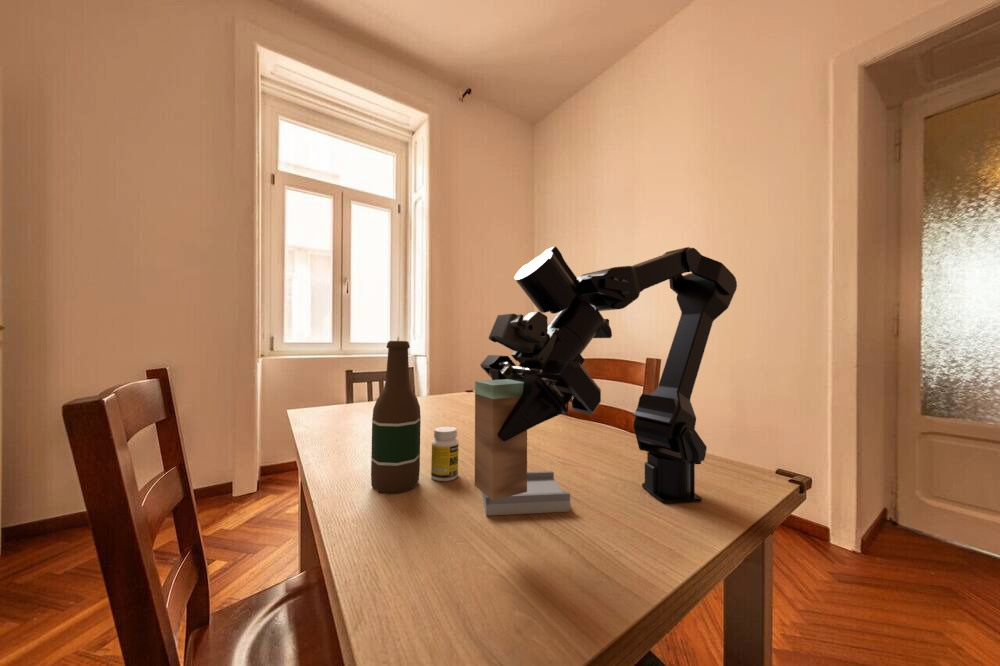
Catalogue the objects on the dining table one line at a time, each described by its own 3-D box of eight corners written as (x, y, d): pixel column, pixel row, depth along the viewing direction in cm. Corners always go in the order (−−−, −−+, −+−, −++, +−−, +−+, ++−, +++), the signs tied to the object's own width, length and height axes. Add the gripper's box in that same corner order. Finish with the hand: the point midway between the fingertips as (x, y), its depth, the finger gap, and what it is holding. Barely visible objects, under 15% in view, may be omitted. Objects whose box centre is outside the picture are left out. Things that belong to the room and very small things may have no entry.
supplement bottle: (452, 483, 61) (453, 433, 61) (426, 480, 62) (427, 431, 62) (461, 473, 66) (462, 426, 66) (437, 470, 67) (437, 425, 67)
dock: (552, 486, 60) (552, 471, 60) (569, 511, 51) (570, 493, 51) (480, 489, 59) (481, 473, 59) (486, 515, 50) (486, 497, 50)
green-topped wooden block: (507, 478, 45) (507, 379, 45) (527, 491, 41) (527, 382, 41) (474, 485, 43) (475, 381, 43) (492, 500, 39) (492, 385, 39)
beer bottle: (417, 474, 65) (419, 341, 65) (421, 491, 57) (424, 341, 58) (371, 479, 62) (374, 340, 63) (370, 497, 55) (373, 340, 55)
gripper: (493, 299, 53) (418, 379, 47) (580, 282, 36) (482, 400, 31) (536, 352, 56) (472, 432, 51) (634, 358, 40) (555, 475, 34)
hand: (490, 433), depth 42 cm, fingers closed on green-topped wooden block, 4 cm apart
